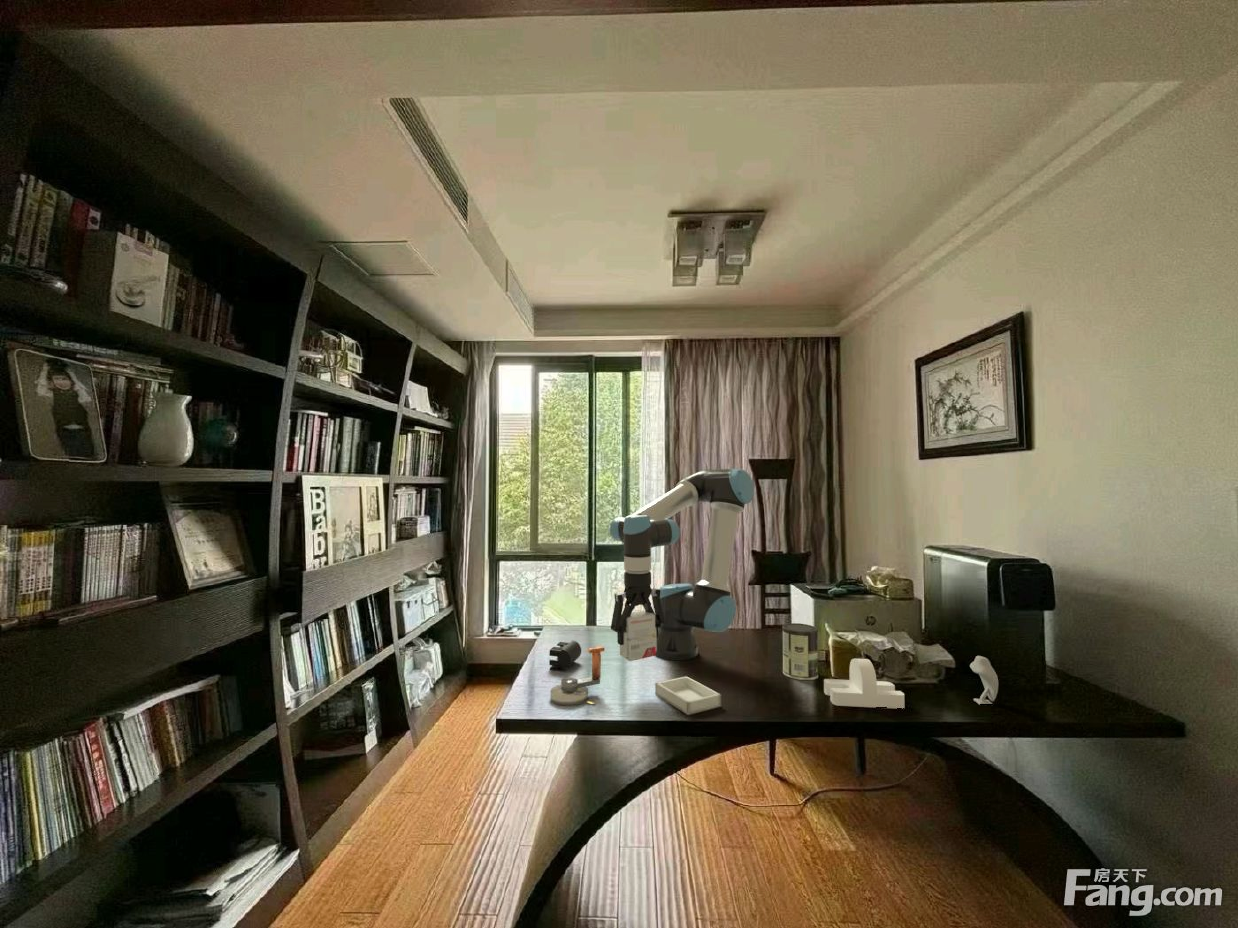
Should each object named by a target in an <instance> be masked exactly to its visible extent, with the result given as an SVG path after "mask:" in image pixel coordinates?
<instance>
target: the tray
mask: <svg viewBox="0 0 1238 928" xmlns="http://www.w3.org/2000/svg"><path fill="white" fill-rule="evenodd" d="M654 684H655V687H654V689H655V691H654V692H655V693H654V694H655V695H656V696H657V697H659V698H661V699H662V700H664V701H665V702H666V703H668V704H671V705H672V706H673V707H675V708H676V709H678V710H679V711H681V712H682V713H684V714H686V715H687V716H690V715H693V714H696V713H701V712H706V711H708V710H713V709H717V708H721V707H722V694H721V693H719V692H717V691H715V690H713V689H711V688H710V687H708V686H706V685H704V684H702V683H700V682H699V681H696V680H694V679H692V678H691V677H688V676H686V675H685V676H681V677H677V678H672V679H668V680H667V679H666V680H663V681H659V682H655V683H654Z"/></svg>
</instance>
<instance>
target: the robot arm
mask: <svg viewBox="0 0 1238 928" xmlns="http://www.w3.org/2000/svg"><path fill="white" fill-rule="evenodd" d="M754 495H755V488H754V482H753V480H752V477H751V475H750V474H749V473H748V472H747V470H745V469H742V468H739V469H738V468H724V469H723V468H722V469H719V468H716V469H712V468H711V469H709V468H708V469H704V470H699V471H698V472H697V471H696V472H695V473H692V474H690V475H689V476H687V477H685V478H684V479H682V480H680V481H678V483H676V485H675V487H674V488H673V489H670V490H669V491H667V492H666V493H664V494H663V495H660V497H658V498H656V499H655V500H652V501H651V502H650V503H648V504H646V505H645V506H643V507H641V508H640V509H638V510H637V511H635V512H633V513H632V514H629V515H627V516H625V517H624V516H619V517H616V518H613V520H612V521H611V522H610V525H609V533H610V536H611V538H612V539H613V540H614V541H617V542H621V543H623V558H624V559H623V566H624V567H623V568H624V570H625V571H624V572H623V573H624V574H623V577H624V578H623V582H624V583H623V584H624V590H623V592H621V593H615V594H614V595H613V596H614V607H613V613H612V618H611V625H610V629H611V630H612V631H613V632H615V633H617V635H616V636H617V640H616V641H617V644H618V645H619V655H620V656H621V657H623V658H624V657H625V658H624V659H626V657H627V633H626V632H625V629H626V626H627V618H628V617H630V616H631V613H633V610H635V609H636V607H638V606H642V607H643V608H644V611H646V612H649V613H653V614H654V615H655V650H656V655H655V656H657V657H658V658H661V659H665V660H672V661H685V660H691V659H695V658H696V657H697V656H698V653H699V651H698V650H699V648H698V645H697V641H696V638H695V633H694V632H693V628H696V629H699V630H700V629H701V630H704V631H707V632H714V633H723V632H725V631H727V629H728V628H730V627H731V625H732V624H733V621H734V619H735V616H736V611H737V610H736V609H737V607H736V601H735V599H734V598H733V597H732V596H731V593H732V592H731V589H730V588H729V587H728V582H729V575H730V571H731V570H730V569H731V563H732V557H733V552H734V546H735V539H736V532H737V525H738V519H739V515H740V514H741V513H743V512H744V511H745V505H748V504H750V503H751V502H752V501H753V498H754ZM699 503H700V504H701V503H709V506H710V508H711V510H712V513H711V514H712V515H711V519H710V525H709V526H710V527H709V532H708V537H707V545H706V547H705V549H706V550H705V555H704V561H703V565H702V571H701V577H700V578H701V579H700V580H699V581H698V582H696V583H695V585H694V586H693V584H691V583H671V584H665V585H662V586H660V587H659V588H656V587H653V588H652V587H651V585H652V573H651V570H652V557H651V556H652V548H657V547H663V546H664V547H665V546H666V547H667V546H668V547H669V546H670V545H673V544H676V542H677V541H679V538H680V530H681V529H680V527H679V525H678V523H677V522H676V521H675V520H673V519H669V518H672V517H673V516H675V515H676V514H677V513H679V512H680V511H682V510H684V509H686V508H687V507H693V506H695V505H697V504H699ZM650 597H651V600H650ZM625 599H626V600H625ZM651 601H652V603H651ZM624 602H625V603H624ZM621 615H622V616H621Z"/></svg>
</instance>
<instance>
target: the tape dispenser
mask: <svg viewBox="0 0 1238 928" xmlns="http://www.w3.org/2000/svg"><path fill="white" fill-rule="evenodd" d="M848 673H849V674H848V675H849V679H837V678H836V679H835V678H824V679H823V693H824V694H825V695H826V696H830V697H829V698H830V702H831V703H832V704H833V705H834V706H840V707H856V708H857V707H859V708H862V707H863V708H876V707H887V708H886V709H897V708H902V709H903V708H904V709H905V693H904V692H902V690H896V686H895V684H893V682H890V681H882V680H881V681H880V680H878V679H877V675H876V674H877V673H876V671H875V667H874V665H873V663H872V662H871V660H870V659H868V658H852V659H850V663H849V671H848ZM902 709H901V710H902ZM904 709H903V710H904Z"/></svg>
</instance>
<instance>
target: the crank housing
mask: <svg viewBox="0 0 1238 928" xmlns="http://www.w3.org/2000/svg"><path fill="white" fill-rule="evenodd" d="M549 694H550V698H549V699H550V702H551V703H552V704H555V705H557V706H563V707H574V706H579V705H582V704H584V703H585V704H588V705H591V706H595V705H596V703H595V702H592V701H590V700H588V699H589V689H588V686H586V687H581V688H578V689H577V690H576V691H573V692H565V691H562V690H561V683H560V684H557V685H555V686H553V687H552V688H551V689H550V693H549Z"/></svg>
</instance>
